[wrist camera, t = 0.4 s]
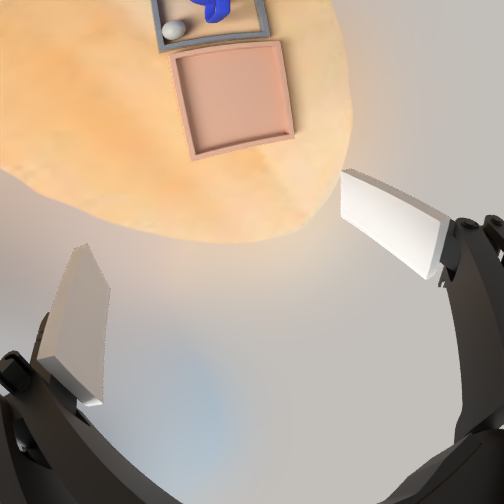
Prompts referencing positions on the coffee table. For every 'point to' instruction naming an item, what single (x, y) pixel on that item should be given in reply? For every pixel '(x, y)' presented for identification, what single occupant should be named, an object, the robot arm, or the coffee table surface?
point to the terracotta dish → (231, 97)
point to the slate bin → (213, 39)
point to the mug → (221, 9)
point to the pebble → (173, 29)
